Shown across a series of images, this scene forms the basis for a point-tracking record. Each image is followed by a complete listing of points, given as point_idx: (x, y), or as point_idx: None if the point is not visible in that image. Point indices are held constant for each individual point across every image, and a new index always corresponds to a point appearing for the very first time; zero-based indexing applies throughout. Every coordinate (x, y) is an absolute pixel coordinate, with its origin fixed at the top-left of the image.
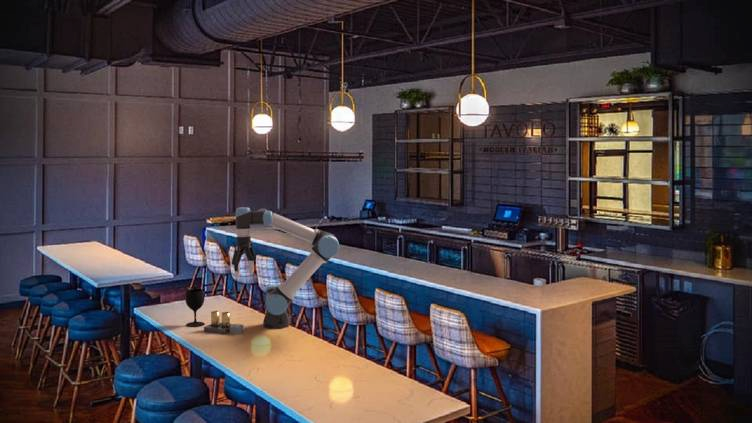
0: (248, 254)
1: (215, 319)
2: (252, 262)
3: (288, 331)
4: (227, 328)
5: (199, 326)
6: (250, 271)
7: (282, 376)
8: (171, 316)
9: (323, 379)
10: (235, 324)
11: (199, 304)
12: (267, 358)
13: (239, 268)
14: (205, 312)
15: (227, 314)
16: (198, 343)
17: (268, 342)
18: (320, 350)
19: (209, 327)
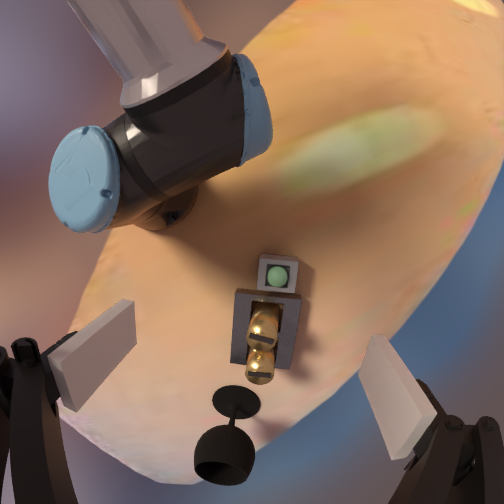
0: (61, 484)
1: (272, 356)
2: (72, 357)
3: None
4: (286, 301)
5: (248, 389)
6: (131, 332)
7: (490, 66)
8: None
9: (464, 13)
10: (281, 280)
11: (239, 432)
12: (445, 102)
13: (407, 386)
14: (135, 410)
15: (271, 326)
16: (394, 319)
17: (341, 131)
18: (347, 7)
19: (290, 354)
